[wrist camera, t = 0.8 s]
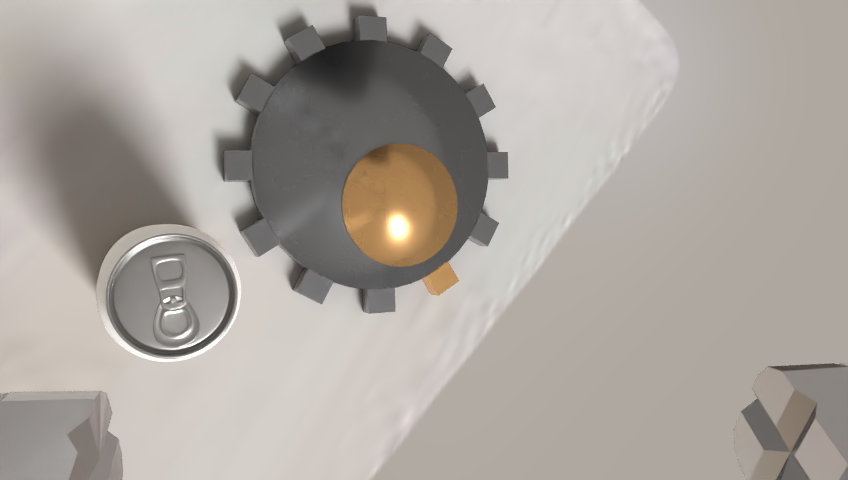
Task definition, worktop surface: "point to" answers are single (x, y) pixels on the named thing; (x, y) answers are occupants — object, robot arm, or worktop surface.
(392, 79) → the sprocket plate
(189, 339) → the can
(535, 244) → the worktop surface
